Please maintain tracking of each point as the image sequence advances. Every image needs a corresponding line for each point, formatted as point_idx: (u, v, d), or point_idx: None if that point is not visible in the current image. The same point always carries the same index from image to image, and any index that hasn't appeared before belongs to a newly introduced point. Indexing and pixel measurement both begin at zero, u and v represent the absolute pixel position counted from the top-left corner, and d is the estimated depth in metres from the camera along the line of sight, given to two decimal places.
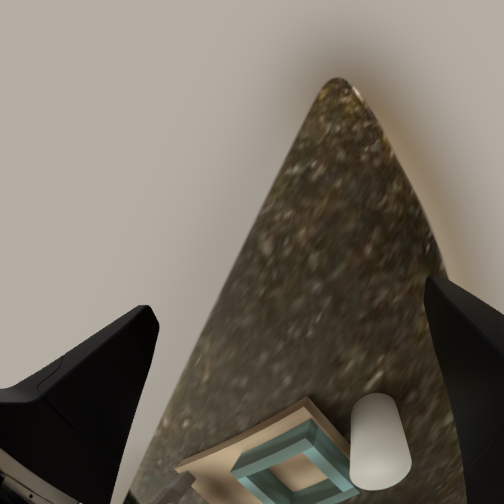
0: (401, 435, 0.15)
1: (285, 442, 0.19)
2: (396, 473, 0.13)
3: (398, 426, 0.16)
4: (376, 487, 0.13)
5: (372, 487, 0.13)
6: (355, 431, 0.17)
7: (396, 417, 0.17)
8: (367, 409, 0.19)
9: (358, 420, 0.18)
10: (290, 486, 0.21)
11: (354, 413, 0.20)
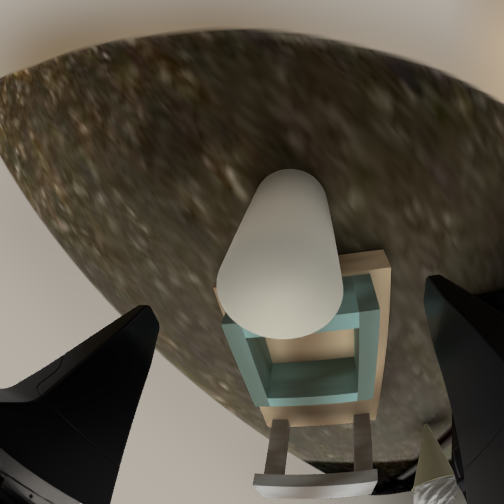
0: (262, 214, 0.10)
1: None
2: (310, 274, 0.09)
3: (263, 203, 0.11)
4: (325, 315, 0.09)
5: (320, 320, 0.10)
6: None
7: (269, 191, 0.12)
8: None
9: None
10: (340, 355, 0.18)
11: None
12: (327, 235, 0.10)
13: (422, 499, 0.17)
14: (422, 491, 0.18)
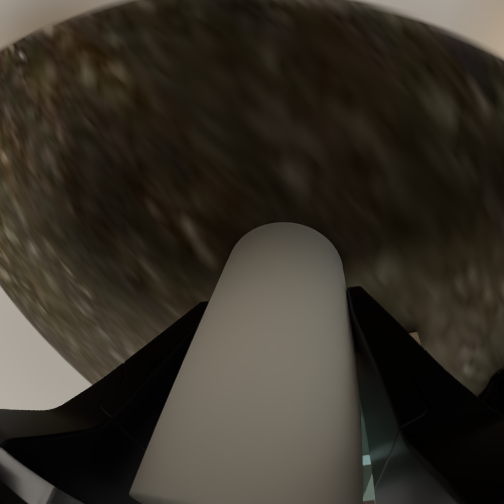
0: (209, 389, 0.04)
1: None
2: None
3: (221, 340, 0.05)
4: None
5: None
6: None
7: (239, 294, 0.06)
8: None
9: None
10: None
11: None
12: (348, 434, 0.04)
13: None
14: None
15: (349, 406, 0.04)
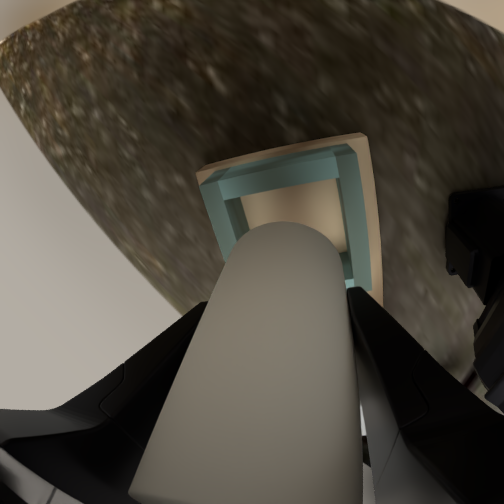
0: (208, 388, 0.04)
1: None
2: None
3: (220, 339, 0.05)
4: None
5: None
6: None
7: (239, 293, 0.06)
8: None
9: None
10: None
11: None
12: (347, 434, 0.04)
13: None
14: None
15: (349, 405, 0.04)
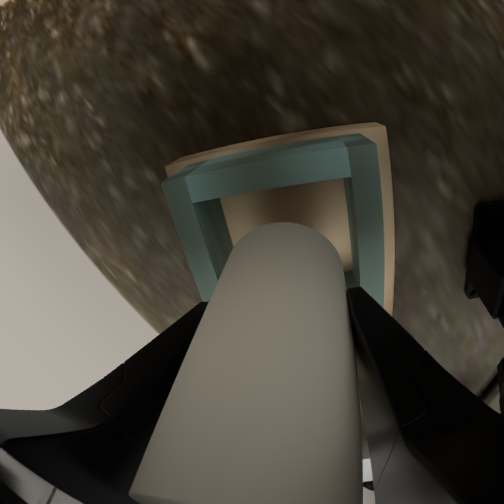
0: (209, 390, 0.04)
1: None
2: None
3: (220, 341, 0.05)
4: None
5: None
6: None
7: (239, 294, 0.06)
8: None
9: None
10: None
11: None
12: (348, 435, 0.04)
13: None
14: None
15: (349, 407, 0.04)
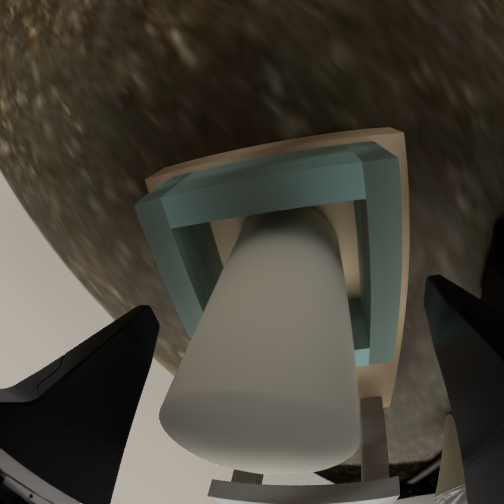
0: (232, 313, 0.06)
1: None
2: (307, 432, 0.04)
3: (239, 282, 0.07)
4: (327, 462, 0.05)
5: (319, 465, 0.05)
6: None
7: (253, 251, 0.08)
8: None
9: None
10: None
11: None
12: (343, 351, 0.05)
13: None
14: (448, 500, 0.12)
15: (343, 333, 0.06)
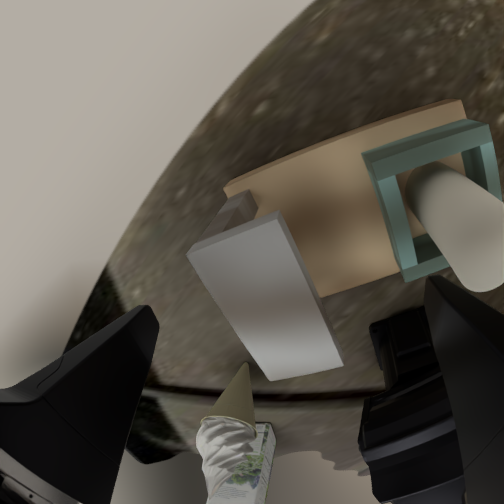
0: None
1: (453, 130, 0.12)
2: None
3: None
4: (476, 285, 0.10)
5: (472, 284, 0.10)
6: (443, 190, 0.12)
7: None
8: (446, 171, 0.13)
9: (441, 179, 0.13)
10: None
11: (422, 175, 0.15)
12: None
13: (224, 437, 0.20)
14: (225, 428, 0.21)
15: None
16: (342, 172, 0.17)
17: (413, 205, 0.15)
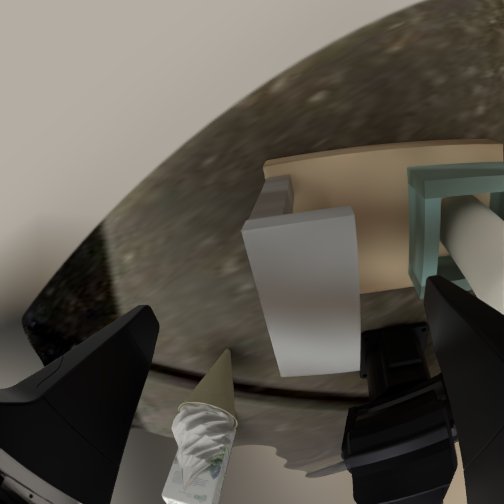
0: None
1: (494, 170, 0.13)
2: None
3: None
4: None
5: None
6: (480, 223, 0.12)
7: None
8: (480, 205, 0.13)
9: (477, 212, 0.13)
10: None
11: (457, 203, 0.15)
12: None
13: (206, 426, 0.19)
14: (207, 416, 0.20)
15: None
16: (385, 181, 0.16)
17: (443, 229, 0.15)
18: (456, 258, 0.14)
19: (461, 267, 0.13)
